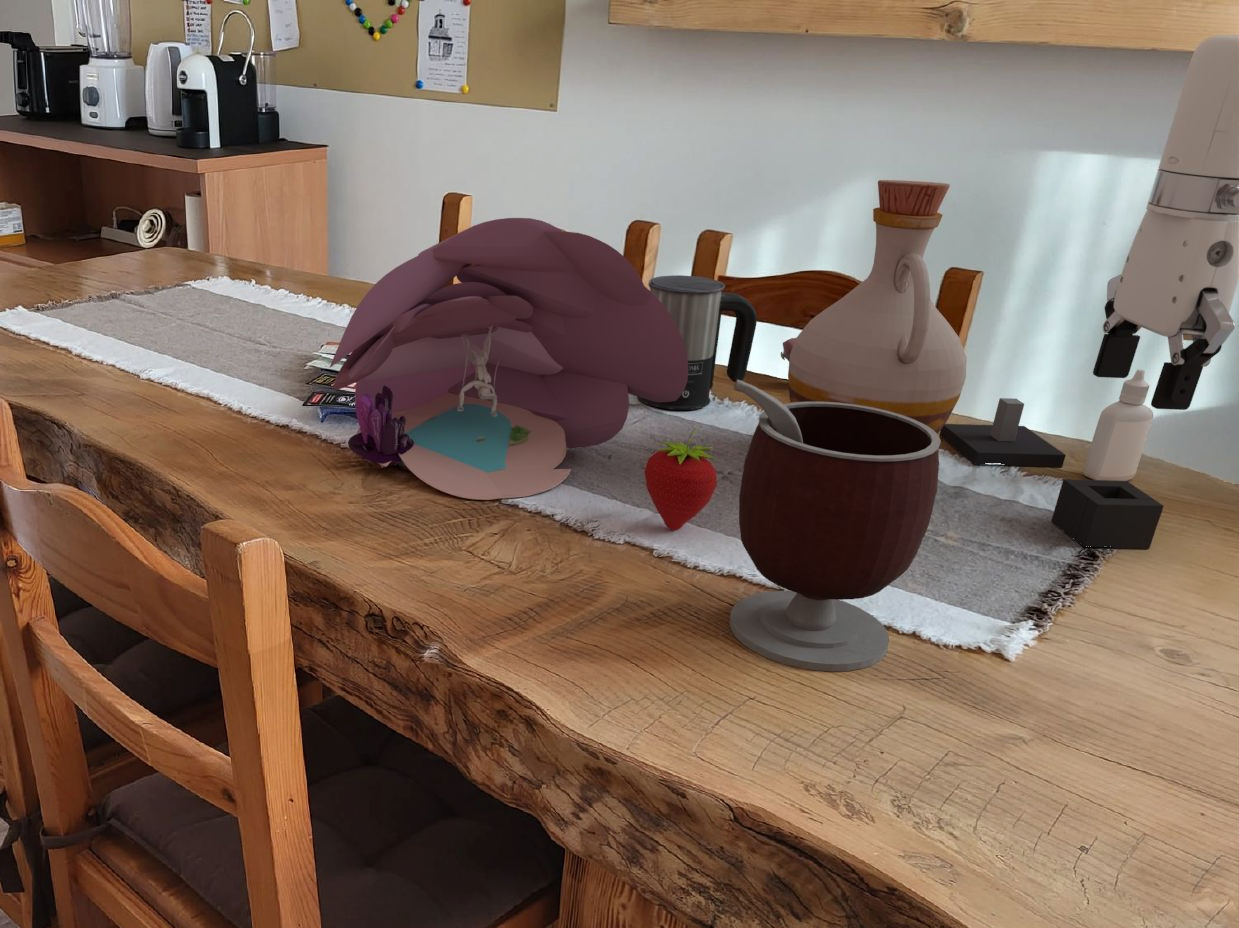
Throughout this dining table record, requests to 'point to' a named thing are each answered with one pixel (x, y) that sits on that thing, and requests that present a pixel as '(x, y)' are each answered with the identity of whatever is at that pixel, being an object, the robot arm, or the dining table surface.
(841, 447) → the mate gourd
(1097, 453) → the eye dropper bottle
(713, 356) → the milk frother
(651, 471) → the strawberry
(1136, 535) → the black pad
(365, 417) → the purple rock cave
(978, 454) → the base pad
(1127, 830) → the dining table surface
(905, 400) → the jug
